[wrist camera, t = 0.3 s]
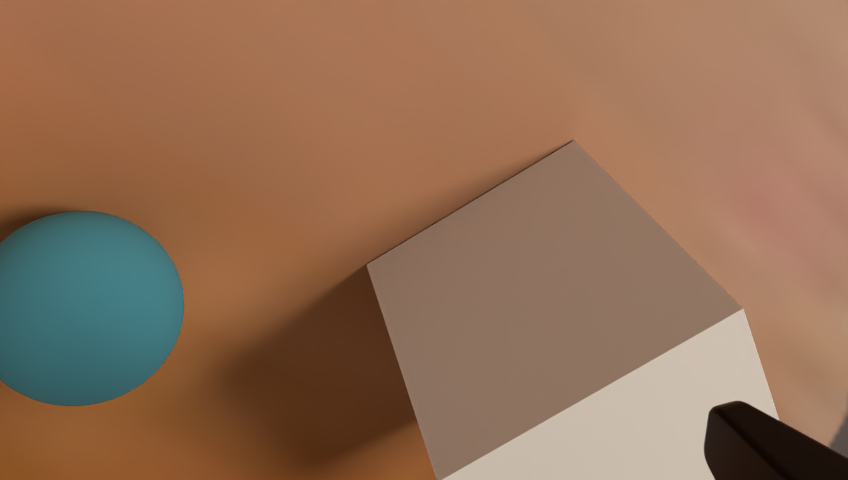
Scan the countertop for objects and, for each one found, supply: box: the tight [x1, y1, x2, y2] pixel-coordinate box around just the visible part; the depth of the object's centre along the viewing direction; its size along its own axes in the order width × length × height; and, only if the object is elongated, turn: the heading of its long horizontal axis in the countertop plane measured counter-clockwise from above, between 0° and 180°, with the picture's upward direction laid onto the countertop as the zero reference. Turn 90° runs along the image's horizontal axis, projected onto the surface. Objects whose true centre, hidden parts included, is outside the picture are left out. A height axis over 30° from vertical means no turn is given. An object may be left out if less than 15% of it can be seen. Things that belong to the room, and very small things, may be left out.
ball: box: [0, 211, 184, 406], centre depth 19 cm, size 5×5×5 cm
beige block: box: [366, 140, 779, 480], centre depth 22 cm, size 8×8×9 cm
